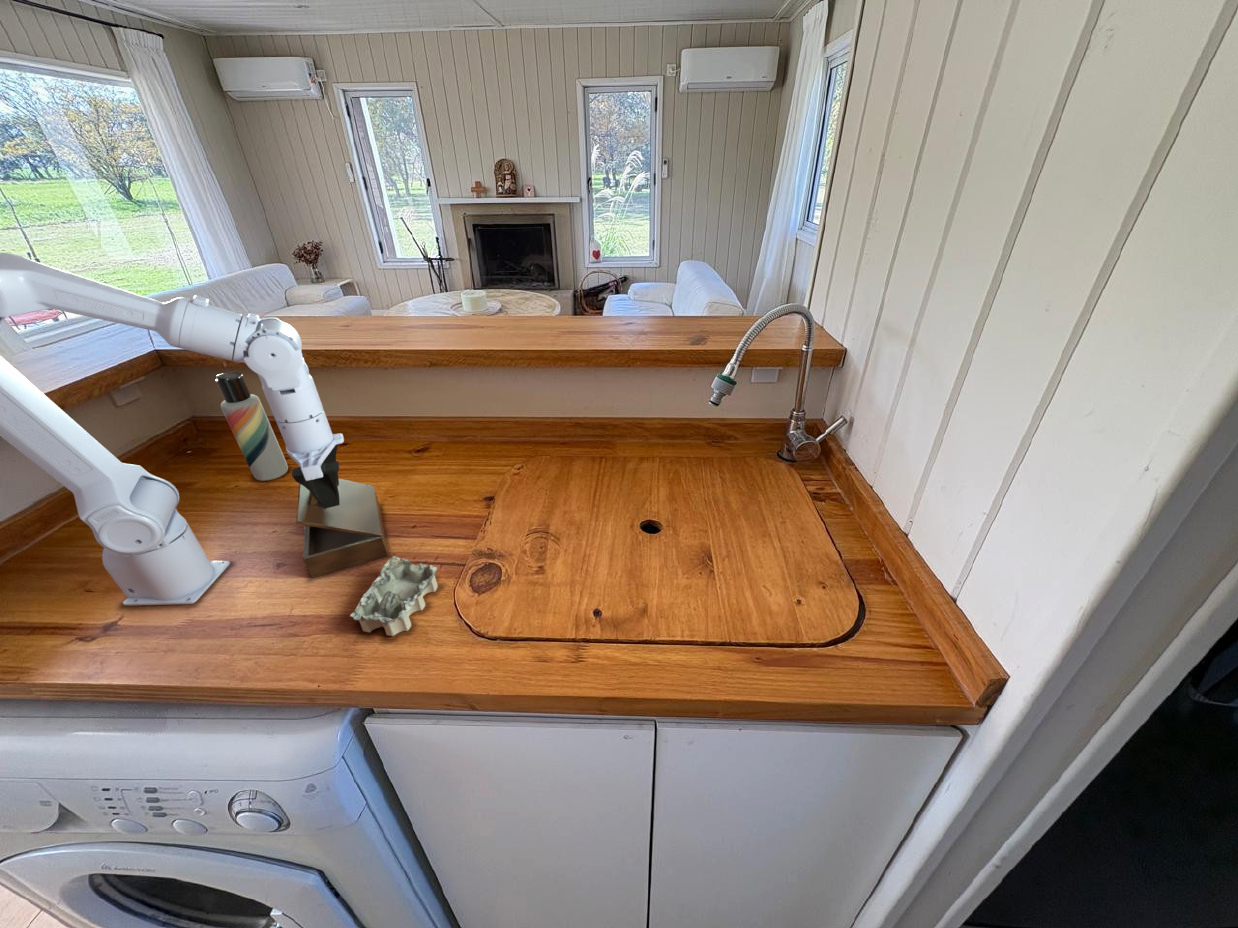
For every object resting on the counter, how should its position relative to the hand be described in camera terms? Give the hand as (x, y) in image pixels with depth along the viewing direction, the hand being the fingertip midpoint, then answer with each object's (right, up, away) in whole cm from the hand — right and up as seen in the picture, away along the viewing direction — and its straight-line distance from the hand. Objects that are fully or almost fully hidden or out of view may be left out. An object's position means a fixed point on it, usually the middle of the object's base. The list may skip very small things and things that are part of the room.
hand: (331, 496), depth 74 cm
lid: (+1, -1, +1) cm, 2 cm away
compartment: (0, -7, +4) cm, 8 cm away
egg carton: (+14, -14, -7) cm, 21 cm away
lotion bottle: (-24, +3, +21) cm, 32 cm away
